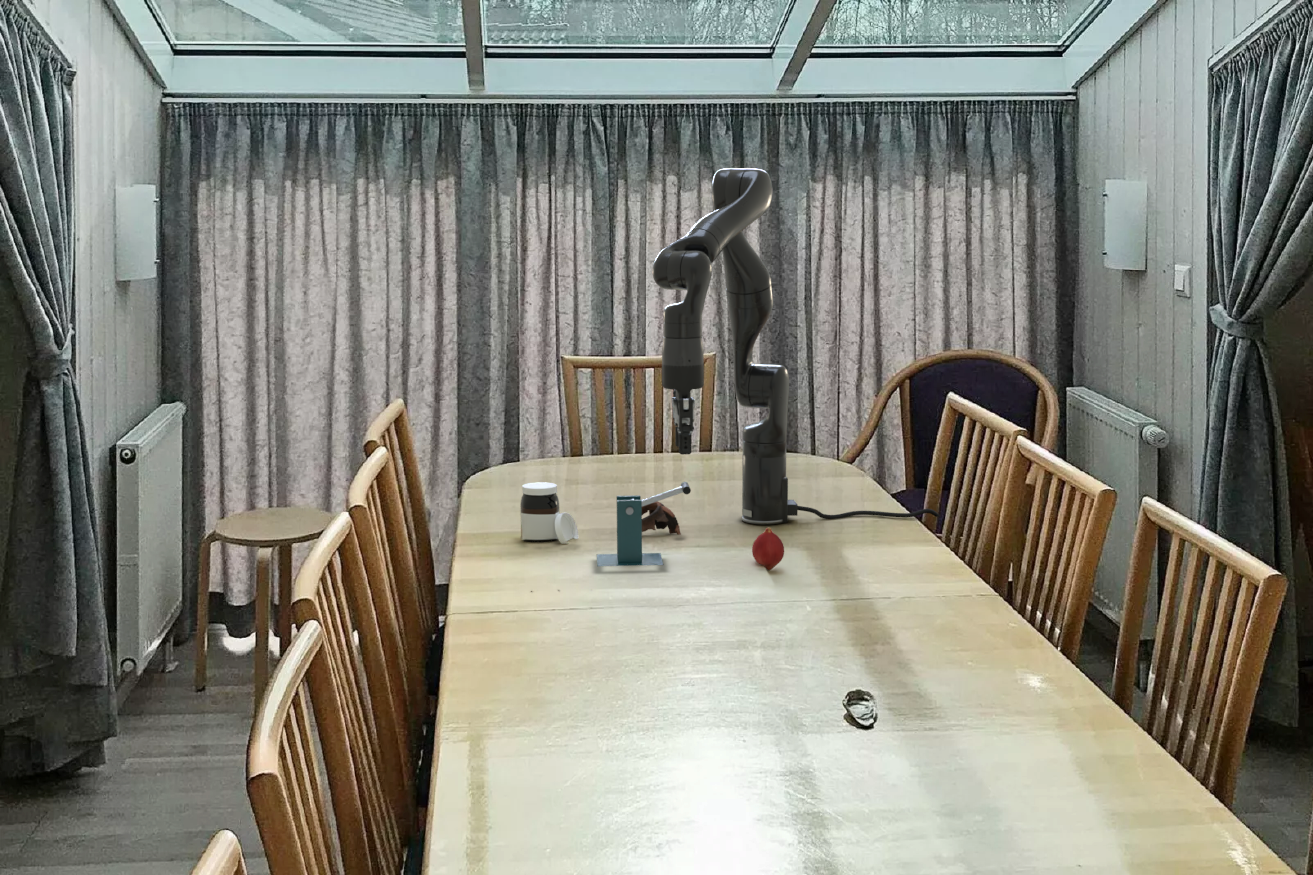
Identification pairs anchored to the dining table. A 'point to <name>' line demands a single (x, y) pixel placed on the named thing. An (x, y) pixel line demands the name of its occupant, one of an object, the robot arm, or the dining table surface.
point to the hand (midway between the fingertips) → (683, 450)
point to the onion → (768, 549)
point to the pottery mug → (659, 518)
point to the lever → (667, 494)
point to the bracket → (629, 537)
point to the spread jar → (544, 515)
